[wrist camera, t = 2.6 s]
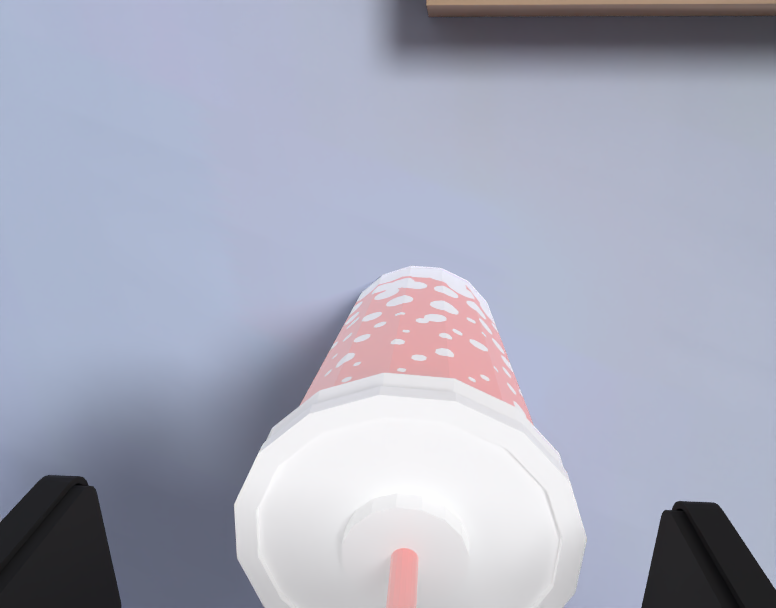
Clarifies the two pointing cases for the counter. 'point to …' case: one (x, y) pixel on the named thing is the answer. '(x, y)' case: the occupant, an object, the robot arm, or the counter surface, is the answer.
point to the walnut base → (599, 8)
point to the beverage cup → (411, 469)
